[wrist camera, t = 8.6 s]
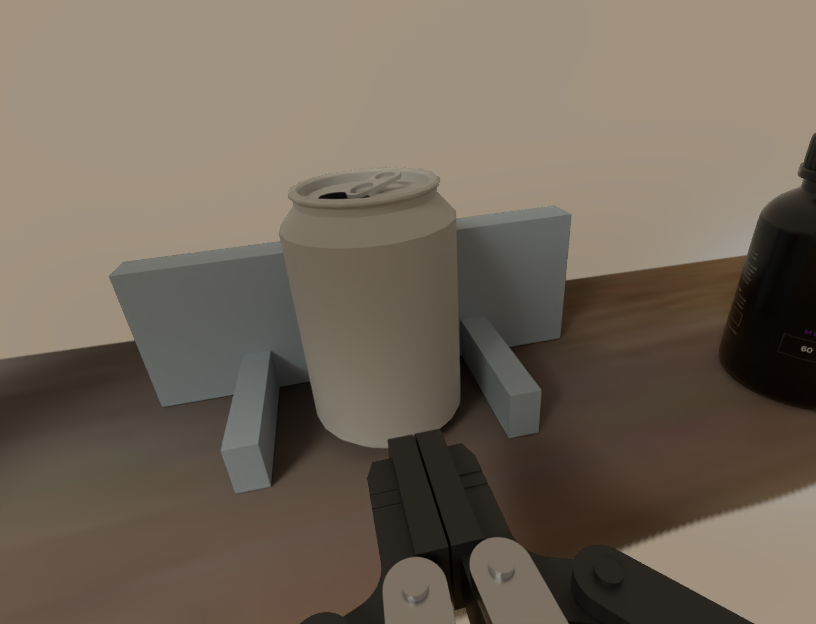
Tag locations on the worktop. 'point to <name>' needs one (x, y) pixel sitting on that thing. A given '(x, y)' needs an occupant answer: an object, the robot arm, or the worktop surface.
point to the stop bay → (281, 341)
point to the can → (376, 300)
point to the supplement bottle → (778, 299)
